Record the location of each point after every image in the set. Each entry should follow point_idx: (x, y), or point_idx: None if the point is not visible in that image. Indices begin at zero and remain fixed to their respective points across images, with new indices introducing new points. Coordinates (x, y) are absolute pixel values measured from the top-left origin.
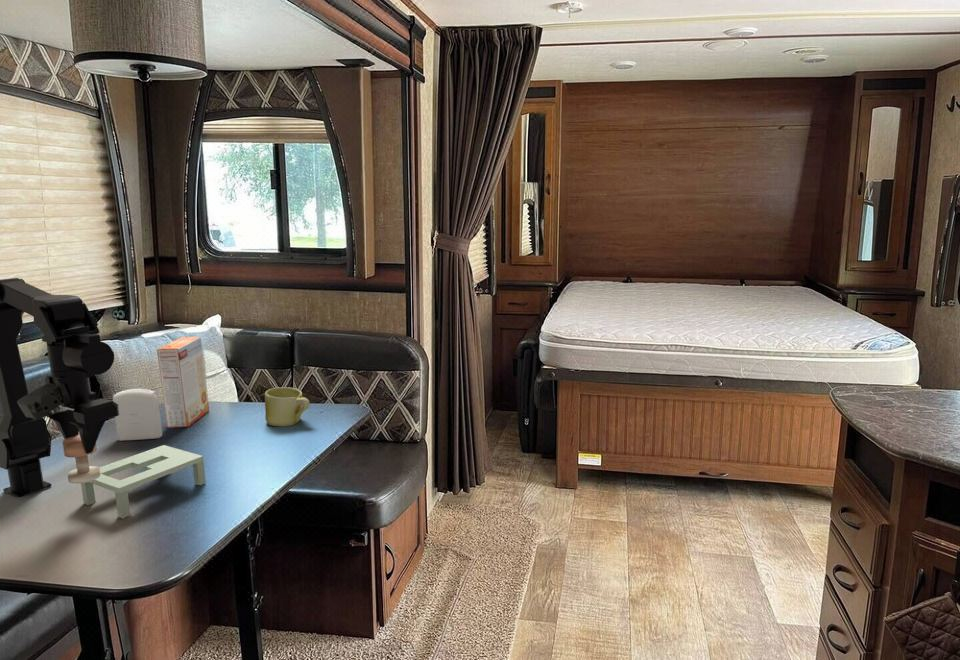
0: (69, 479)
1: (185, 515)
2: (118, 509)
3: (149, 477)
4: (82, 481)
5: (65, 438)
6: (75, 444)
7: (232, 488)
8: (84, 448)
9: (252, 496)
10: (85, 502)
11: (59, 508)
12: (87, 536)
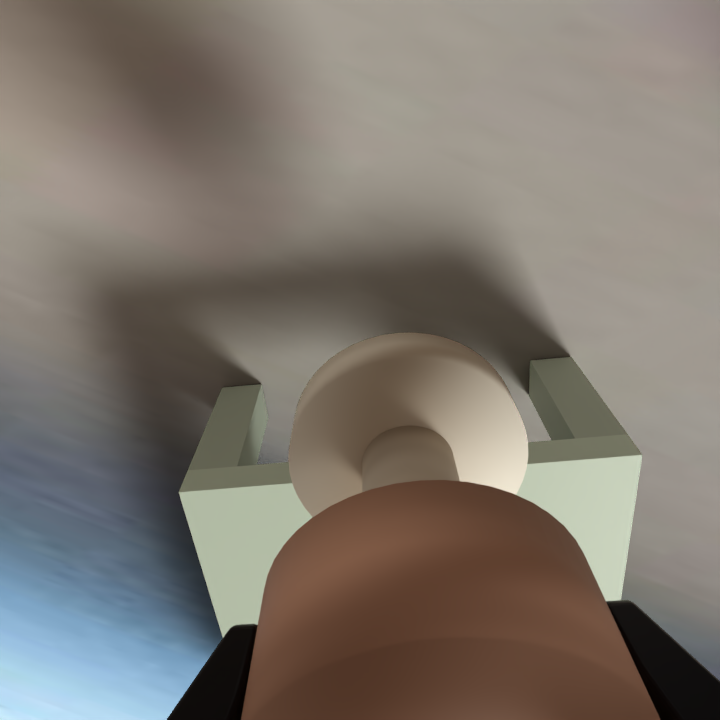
0: (405, 345)
1: (48, 537)
2: (242, 406)
3: (224, 631)
4: (307, 391)
5: (706, 712)
6: (270, 694)
7: (169, 710)
8: (222, 679)
9: (43, 711)
10: (556, 363)
11: (640, 258)
12: (147, 196)
